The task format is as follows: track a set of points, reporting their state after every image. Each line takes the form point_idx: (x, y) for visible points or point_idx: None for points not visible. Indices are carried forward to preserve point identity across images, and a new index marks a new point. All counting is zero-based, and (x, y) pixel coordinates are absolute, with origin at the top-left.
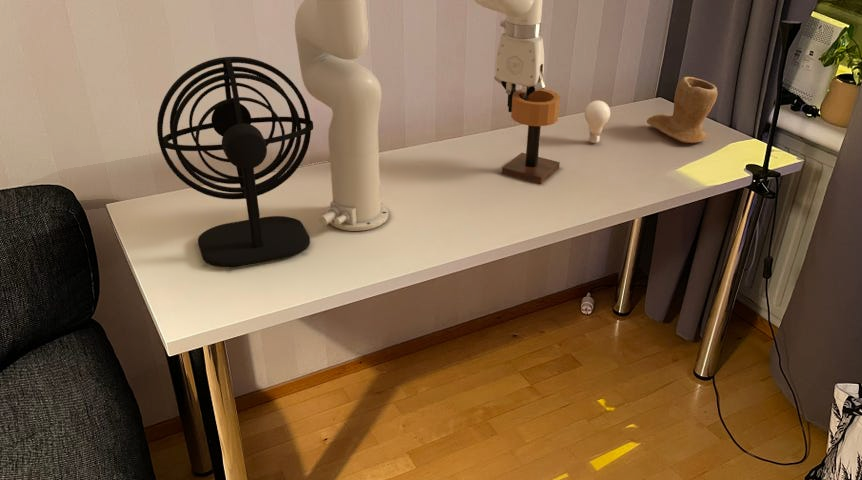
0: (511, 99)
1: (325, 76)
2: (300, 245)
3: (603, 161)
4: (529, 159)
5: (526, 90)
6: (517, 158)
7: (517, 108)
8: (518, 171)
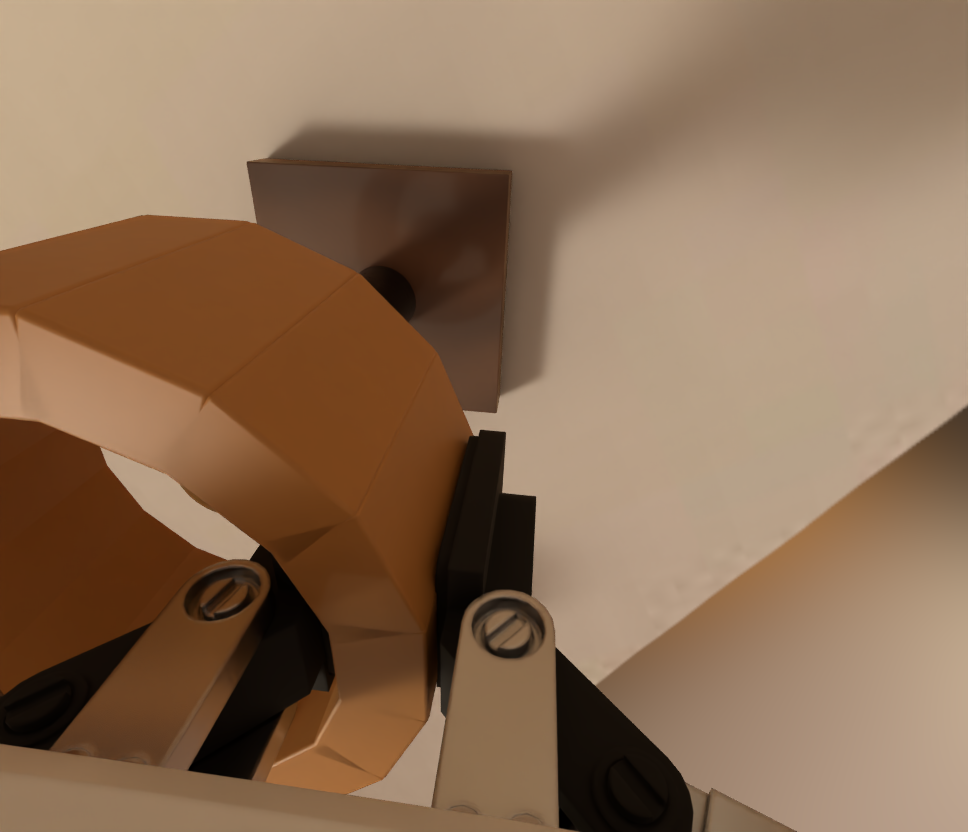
0: (452, 530)
1: None
2: None
3: (206, 516)
4: (365, 277)
5: (116, 672)
6: (483, 335)
7: (226, 304)
8: (397, 169)
